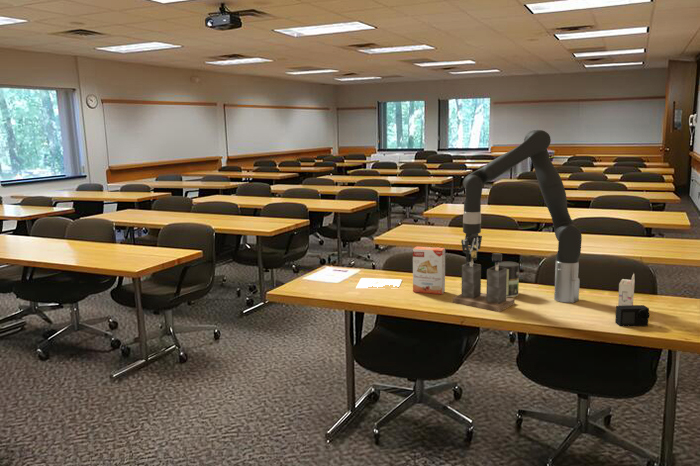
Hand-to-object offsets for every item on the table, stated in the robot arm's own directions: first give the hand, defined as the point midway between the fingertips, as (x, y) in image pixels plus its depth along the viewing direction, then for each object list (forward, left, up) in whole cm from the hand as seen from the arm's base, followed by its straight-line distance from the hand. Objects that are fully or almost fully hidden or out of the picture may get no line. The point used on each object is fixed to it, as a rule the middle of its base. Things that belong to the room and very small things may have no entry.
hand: (471, 260), depth 245 cm
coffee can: (-8, -18, -18) cm, 27 cm away
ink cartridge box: (-56, -26, -18) cm, 64 cm away
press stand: (-6, 0, -18) cm, 19 cm away
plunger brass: (0, 0, -14) cm, 14 cm away
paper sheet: (+47, +8, -19) cm, 51 cm away
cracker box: (+22, 0, -18) cm, 29 cm away
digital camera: (-63, -9, -18) cm, 67 cm away
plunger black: (-12, 0, -14) cm, 19 cm away
